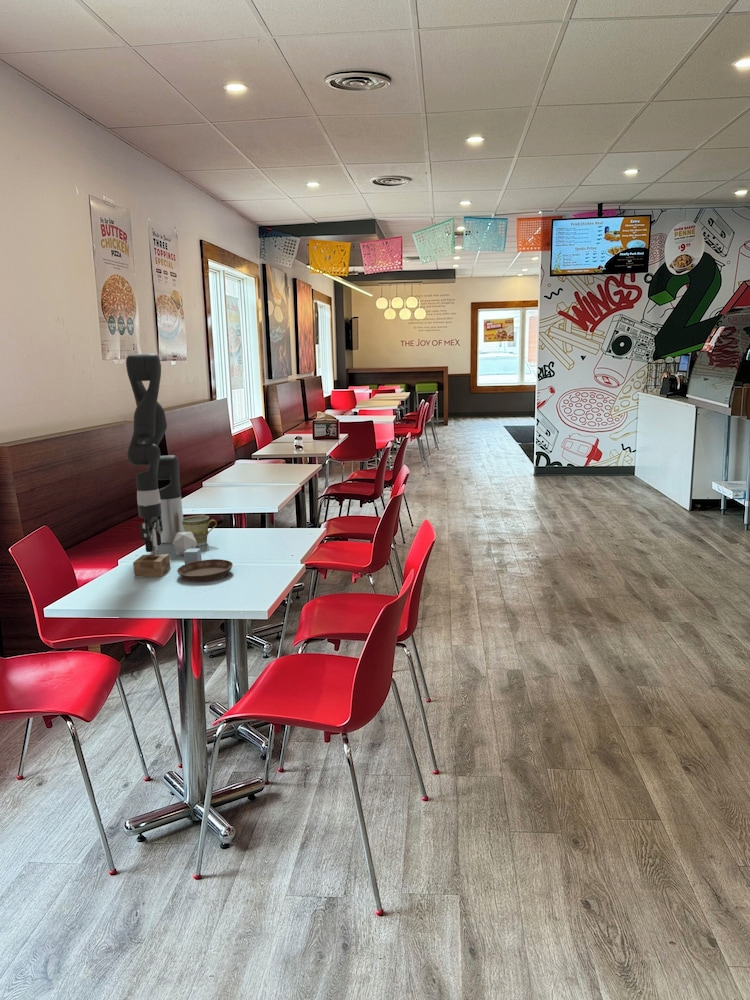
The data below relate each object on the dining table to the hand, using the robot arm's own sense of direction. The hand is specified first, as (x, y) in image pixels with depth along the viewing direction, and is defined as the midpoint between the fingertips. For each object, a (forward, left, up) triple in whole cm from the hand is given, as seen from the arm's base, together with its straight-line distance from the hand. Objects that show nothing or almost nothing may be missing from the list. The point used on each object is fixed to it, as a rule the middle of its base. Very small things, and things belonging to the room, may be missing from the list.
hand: (153, 548), depth 258 cm
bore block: (+11, +3, -5) cm, 12 cm away
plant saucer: (+15, +22, -6) cm, 27 cm away
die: (-12, +7, -6) cm, 15 cm away
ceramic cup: (-25, +9, -6) cm, 27 cm away
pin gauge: (0, 0, -5) cm, 5 cm away
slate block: (+2, +14, -5) cm, 15 cm away
